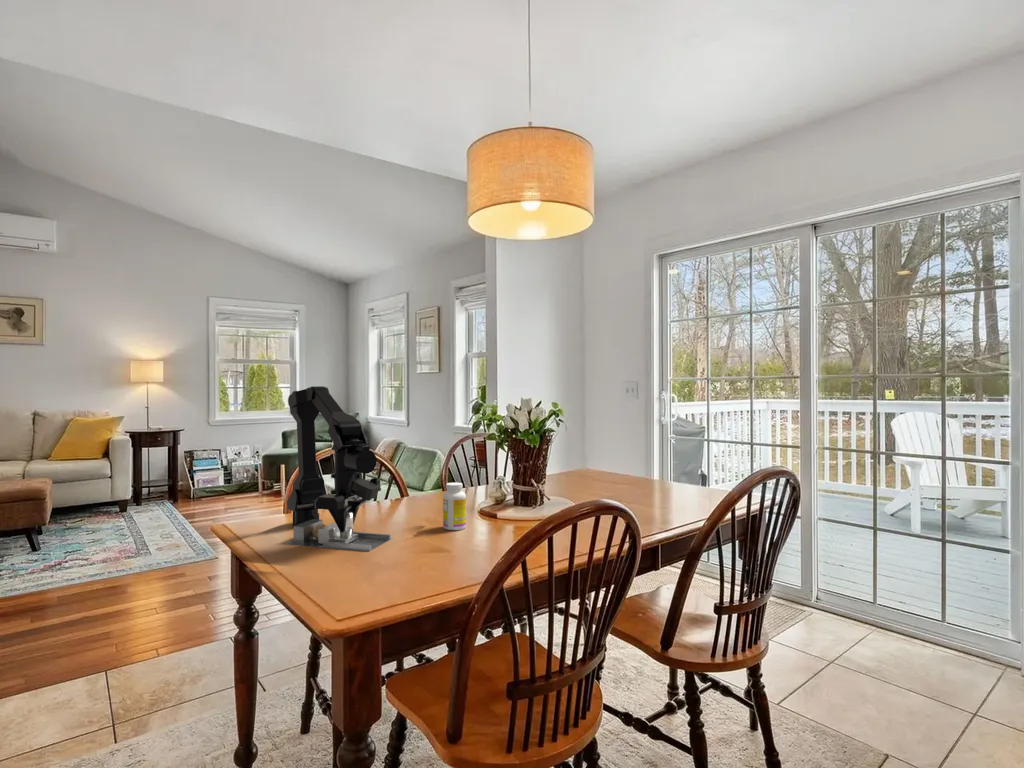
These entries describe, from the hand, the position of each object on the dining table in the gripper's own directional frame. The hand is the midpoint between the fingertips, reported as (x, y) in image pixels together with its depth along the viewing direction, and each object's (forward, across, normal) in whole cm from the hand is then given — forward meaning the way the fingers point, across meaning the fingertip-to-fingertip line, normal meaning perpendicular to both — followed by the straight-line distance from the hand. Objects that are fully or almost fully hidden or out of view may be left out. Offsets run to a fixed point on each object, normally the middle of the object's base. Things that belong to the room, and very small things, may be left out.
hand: (346, 530), depth 147 cm
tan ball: (+3, 0, +7) cm, 8 cm away
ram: (+3, 0, +2) cm, 3 cm away
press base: (+4, 0, +2) cm, 5 cm away
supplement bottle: (+5, +26, -19) cm, 33 cm away
